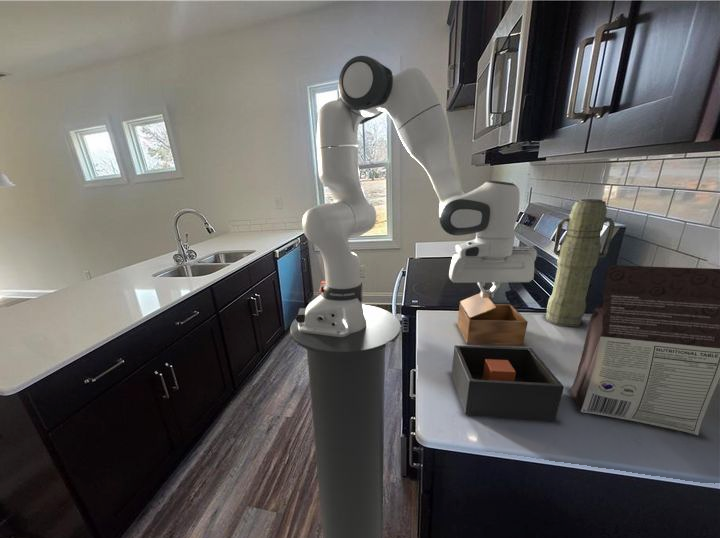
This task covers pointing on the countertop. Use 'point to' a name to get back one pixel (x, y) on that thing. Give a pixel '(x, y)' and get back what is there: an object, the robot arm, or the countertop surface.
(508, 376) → the block
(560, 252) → the thermos
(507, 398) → the basket
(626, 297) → the protein powder
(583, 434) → the countertop surface
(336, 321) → the robot arm
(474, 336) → the wooden box
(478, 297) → the flap
